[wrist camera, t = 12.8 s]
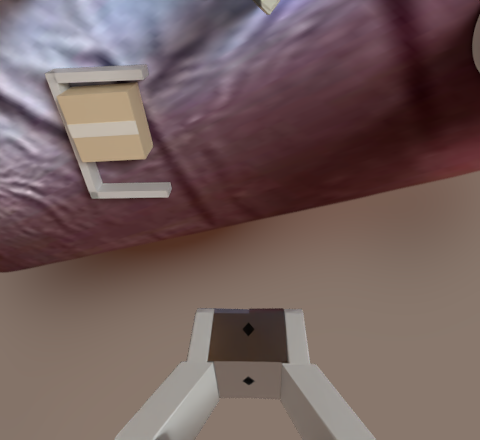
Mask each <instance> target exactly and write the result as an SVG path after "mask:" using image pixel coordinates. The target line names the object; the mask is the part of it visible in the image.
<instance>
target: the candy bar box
mask: <svg viewBox="0 0 480 440" xmlns="http://www.w3.org/2000/svg"><path fill="white" fill-rule="evenodd" d="M253 1H254V2H255V3H256V4H257V5H258V7H259V8H260V9H261V10H263V11H264V12H265V13H266V14H267V15H270V14H271V12H272V11H273V10H274V8H275V7H276V6H277V4H278V3H279V2H280V0H253Z"/></svg>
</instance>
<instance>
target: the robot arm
mask: <svg viewBox="0 0 480 440" xmlns="http://www.w3.org/2000/svg"><path fill="white" fill-rule="evenodd" d="M472 52H473V59H474V62H475V65H476V67H477V69H478V71H479V72H480V15H479V18H478V20H477V23H476V26H475V30H474V35H473V42H472ZM219 398H263V399H281V400H280V401H281V403H282V405H283V406H284V408H285V410H286V411H287V413H288V415H289V417H290V419H291V420H292V422H293V424H294V425H295V427H296V429H297V431H298V432H299V434H300V436H301V438H302V439H303V440H376V439H375V438H374V436H373V435H372V434H371V433H370V431H369V430H368V429H367V428H366V426H365V425H364V424H363V423H362V421H361V420H360V419H359V418H358V416H357V415H356V414H355V413H354V411H353V410H352V409H351V408H350V406H349V405H348V404H347V403H346V401H345V400H344V399H343V398H342V396H341V395H340V394H339V393H338V391H337V390H336V389H335V388H334V386H333V385H332V384H331V383H330V381H329V380H328V379H327V378H326V376H325V375H324V374H323V372H322V371H321V370H320V369H319V368H318V366H317V365H316V364H310V359H309V352H308V344H307V337H306V329H305V322H304V314H303V311H302V309H249V310H247V309H216V308H198V309H197V311H196V313H195V318H194V323H193V329H192V334H191V339H190V345H189V350H188V355H187V361H186V362H180V364H179V365H178V366H177V367H176V368H175V369H174V370H173V372H172V373H171V374H170V375H169V376H168V377H167V378H166V380H165V381H164V382H163V383H162V384H161V385H160V386H159V388H158V389H157V390H156V391H155V392H154V393H153V394H152V396H151V397H150V398H149V399H148V400H147V401H146V403H145V404H144V405H143V406H142V407H141V408H140V409H139V411H138V412H137V413H136V414H135V415H134V416H133V418H132V419H131V420H130V421H129V422H128V423H127V424H126V425H125V427H124V428H123V429H122V430H121V431H120V432H119V434H118V435H117V436H116V437H115V440H195V438H196V437H197V435H198V434H199V432H200V431H201V429H202V427H203V426H204V424H205V423H206V421H207V419H208V418H209V416H210V415H211V412H212V411H213V410H214V408H215V407H216V405H217V403H218V402H219Z"/></svg>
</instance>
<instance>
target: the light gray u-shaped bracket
mask: <svg viewBox="0 0 480 440" xmlns="http://www.w3.org/2000/svg"><path fill="white" fill-rule="evenodd" d="M148 75H149V73H148V68H147V65H127V66H104V67H81V68H58V69H53V70H51V71H49V72H47V73H45V76H46V79H47V81H48V84H49V87H50V89H51V92H52V95H53V97H54V100H55V103H56V105H57V108H58V110H59V113H60V116H61V118H62V121H63V124H64V126H65V129H66V132H67V134H68V137H69V140H70V142H71V145H72V148H73V150H74V153H75V156H76V158H77V161H78V164H79V166H80V169H81V172H82V174H83V177H84V180H85V182H86V185H87V188H88V190H89V193H90V196H91V198H92V199H97V198H157V197H169V194H170V192H171V189H172V187H171V182H158V183H108V184H103V183H102V180H101V177H100V174H99V171H98V168H97V165H96V162H82V160H81V157H80V155H79V152H78V150H77V147H76V144H75V142H74V139H73V138H72V136H71V134H70V131H69V129H68V126H67V125H68V124H67V122H66V119H65V117H64V114H63V112H62V109H61V107H60V104H59V102H58V99H57V97H56V96H58V95H59V94H61V93H63V92H64V91H66V90H67V89H69V88H70V86H69V83H76V82H101V81H125V80H144V79H145V78H146V77H147V76H148Z"/></svg>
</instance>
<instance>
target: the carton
mask: <svg viewBox="0 0 480 440" xmlns="http://www.w3.org/2000/svg"><path fill="white" fill-rule="evenodd" d="M56 97H57V99H58V102H59V104H60V107H61V109H62V112H63V114H64V117H65V119H66V122H67V124H68V125H67V126H68V129H69V131H70V134H71V136H72V138H73V139H74V142H75V144H76V147H77V150H78V152H79V155H80V157H81V160H82V162H99V161H118V160H137V159H146V157H147V156H148V154H149V152H150V151H151V149H152V147H153V143H152V139H151V135H150V131H149V127H148V123H147V119H146V115H145V111H144V107H143V103H142V99H141V95H140V91H139V87H138V83H137V82H132V83H118V84H104V85H90V86H76V87H71V88H69V89H67V90H66V91H64V92H63V93H61V94H59V95H58V96H56Z"/></svg>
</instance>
